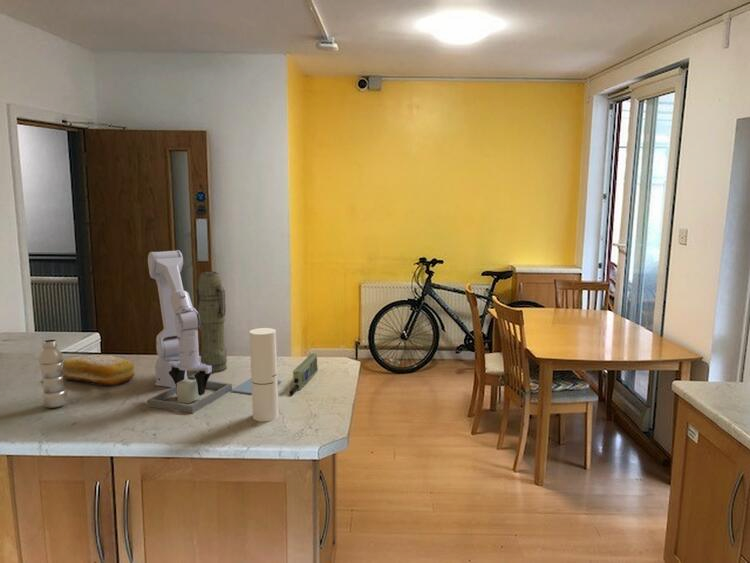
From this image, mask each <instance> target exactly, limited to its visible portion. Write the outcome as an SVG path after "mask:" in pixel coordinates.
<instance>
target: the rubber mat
mask: <svg viewBox="0 0 750 563" xmlns="http://www.w3.org/2000/svg"><path fill="white" fill-rule="evenodd" d="M281 383H282V380H279V379H277V386H278V385H279V384H281ZM230 392H231V393H236V394H237V393H238V394H244V395H251V396H252V382H251V377H250V378H249V379H247V380H245V381H244V382H242V383H240V384H239V385H236V386H235V387H234V388H232V390H231V391H230Z"/></svg>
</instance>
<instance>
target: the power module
mask: <svg viewBox="0 0 750 563" xmlns="http://www.w3.org/2000/svg"><path fill="white" fill-rule="evenodd" d="M195 374H196V373H193V374H191V375H189V376H187V378H186V379H184V380H182V381H180V382H178V383H177V393H176V394H177V397H176V398H177V403H182V404H190V403H192V402H194V401H195V400H197V399H199V398H201V397H203V396H204V395H205V394H206V392H205V393H204V394H203V395H199V394H198V386H197V381H196V378H195V376H194V375H195Z"/></svg>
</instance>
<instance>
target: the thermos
mask: <svg viewBox="0 0 750 563" xmlns="http://www.w3.org/2000/svg"><path fill="white" fill-rule="evenodd" d="M195 291H196V303H197V311H198V313H199V317H200V337H201V338H200V339H201V348H200V352H199V355H200V363H203V364H206V365H210V366H212V372H211V374H215V373H221V372H224V371H226V370H227V369H228V366H227V362H228V359H227V357H228V356H227V348H226V346H225V329H224V326H225V325H224V323H225V321H226V319H225V318H226V317H225V316H226V308H227V307H226V290H225V289H224V287H223V286H222V278H221V276H220V274H219V272H217V271H204V272H203V271H202V273H200V275H199V279H198V285H197V287H196V289H195Z"/></svg>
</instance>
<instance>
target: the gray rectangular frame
mask: <svg viewBox="0 0 750 563" xmlns="http://www.w3.org/2000/svg"><path fill="white" fill-rule="evenodd" d="M206 388H207V389H213V390H215V391H214V392H211V393H210V394H208V395H207V396H204V397H203V398H201V399H200V400H198V401H195V402H194V403H192V404H190V403H183V402H176V401H175V402H174V401H167V400H166V399H167V398H171V397H172V396H174V395H176V394H177V387H176V386H174V387H169V388H168V389H166V390H165V391H162V392H160V393H158V394H156V395H154V396H152V397H151V398H148V399H147V407H151V408H158V409H164V410H170V411H175V412H183V413H184V412H185V413H190V414H194V413H195V412H197V411H200V410H201V409H202V408H204V407H206V406H208V405H209V404H211V403H213V402H214V401H217V400H218V399H219V398H221V397H223V396H224V395H226V394H228V393H229V392H231V390H232V389H233V384H232V383H227V382H220V381H212V380H208V381H207V384H206ZM206 388H205V389H206Z"/></svg>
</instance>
